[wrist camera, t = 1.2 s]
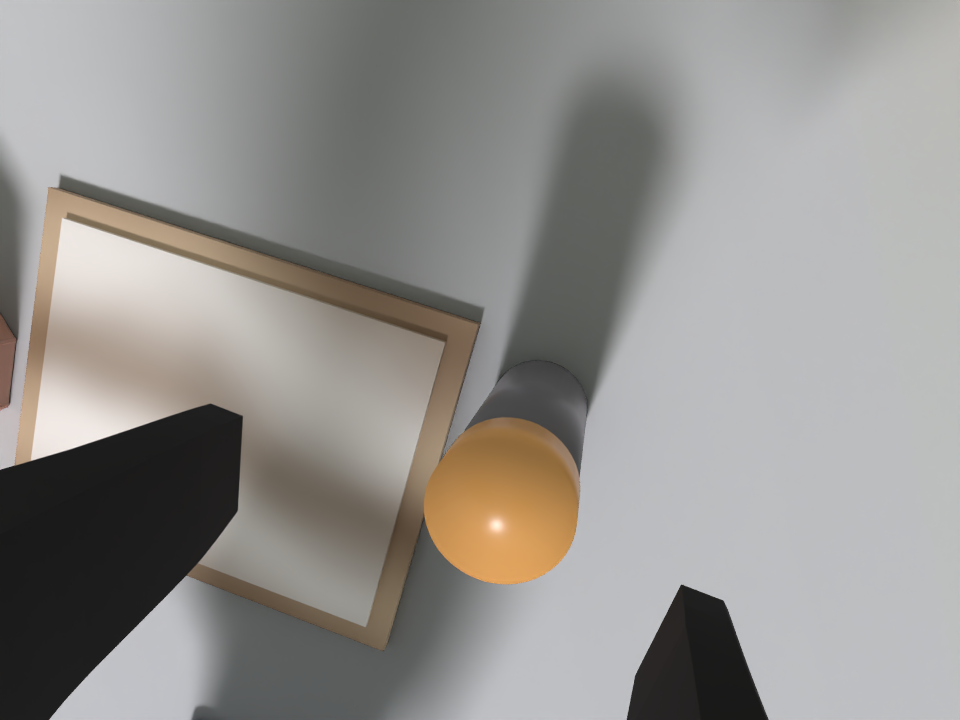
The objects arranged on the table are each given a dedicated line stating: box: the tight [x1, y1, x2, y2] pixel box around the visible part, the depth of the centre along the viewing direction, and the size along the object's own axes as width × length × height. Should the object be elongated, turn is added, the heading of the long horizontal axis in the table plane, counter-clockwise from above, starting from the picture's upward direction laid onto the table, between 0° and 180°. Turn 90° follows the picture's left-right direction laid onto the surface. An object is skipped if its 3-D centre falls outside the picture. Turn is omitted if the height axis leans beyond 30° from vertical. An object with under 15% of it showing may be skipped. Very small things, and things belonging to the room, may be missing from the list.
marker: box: [424, 361, 587, 584], centre depth 17 cm, size 3×3×8 cm
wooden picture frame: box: [14, 187, 481, 651], centre depth 23 cm, size 12×15×1 cm
